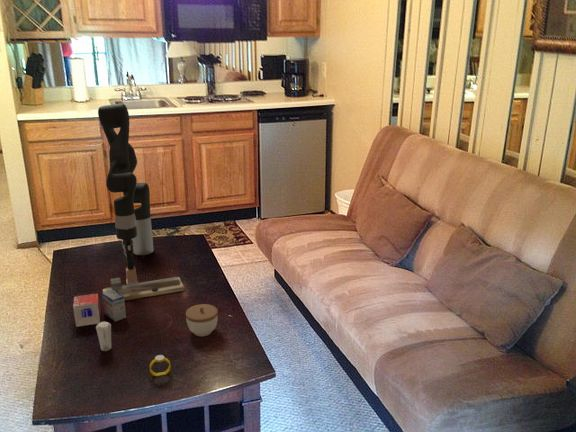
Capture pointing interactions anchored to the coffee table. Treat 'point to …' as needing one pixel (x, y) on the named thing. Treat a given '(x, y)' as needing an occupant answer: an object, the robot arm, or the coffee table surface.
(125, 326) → the coffee table surface
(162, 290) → the bolt-hole plate
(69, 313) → the coffee table surface
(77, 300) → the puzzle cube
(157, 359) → the gold diamond ring
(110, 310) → the medicine box
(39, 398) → the coffee table surface
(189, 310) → the lidded jar
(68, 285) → the coffee table surface
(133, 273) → the block
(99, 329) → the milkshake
